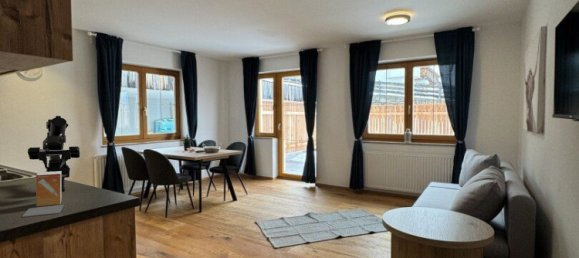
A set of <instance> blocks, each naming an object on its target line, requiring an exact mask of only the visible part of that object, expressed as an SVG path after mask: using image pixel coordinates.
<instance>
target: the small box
mask: <svg viewBox="0 0 579 258" xmlns="http://www.w3.org/2000/svg"><path fill="white" fill-rule="evenodd" d="M35 184H36V185H35V186H36V187H35V193H36V194H35V204H36V206H35V207H45V206H56V205H62V204H61V202H62V191H61V171H57V172H46V171H45V172H44V171H42V172H37V173H36V176H35Z"/></svg>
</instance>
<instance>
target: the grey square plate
mask: <svg viewBox="0 0 579 258" xmlns="http://www.w3.org/2000/svg"><path fill="white" fill-rule="evenodd" d="M64 205H65V204H59V205H48V206H38V207H36V206H35V207H29V208H28V209H27V210H26V211H25V212H24V213H23V215H22V217H21V218H30V217H38V216H49V215H57V214H60V213H61V211H62V209H63V207H64Z"/></svg>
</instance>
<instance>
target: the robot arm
mask: <svg viewBox="0 0 579 258" xmlns="http://www.w3.org/2000/svg"><path fill="white" fill-rule="evenodd" d="M45 123H46V124H45V125H46V127H45V128H46V129H47V132H46V137H45V138H44V140H43V141H42V148H41V147H39V146H37V147H36V146H33V147H29V148H28V149H27V154H28V159H29V160H31V161H32V160H38V161H41V162H42V163H43V165H44V169H46V171H45V172H57V171H61V192H65V191H66V190H67V187H66V186H65V181H66V179H65V178H67V179H68V178H70V174H71V173H70V172H71V167H70V166H69V165H68V164H67V161H68V160H71V159H79V158H80V157H81V149H80V147H79V146H77V145H76V146H72V145H71V146H69V147H68V149H64V147H65V146H64V145H65V144H66V142H67V135H66V129H67V128H68V127H69V123H67V120H66V119H65V118H63V117H62V116H61V115H55V116H54V117H53V118H52V119H51V118H50V119H48V120H47V121H46V122H45ZM48 159H49V160H48Z"/></svg>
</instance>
